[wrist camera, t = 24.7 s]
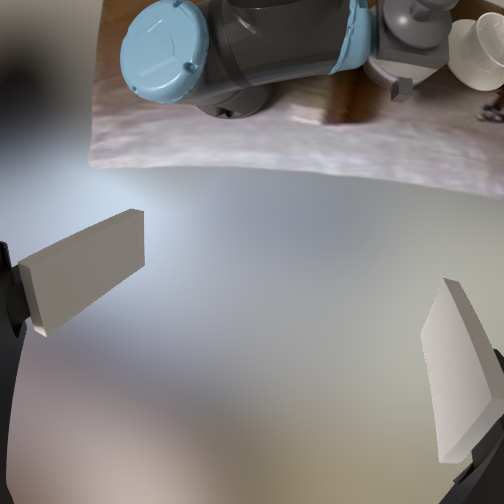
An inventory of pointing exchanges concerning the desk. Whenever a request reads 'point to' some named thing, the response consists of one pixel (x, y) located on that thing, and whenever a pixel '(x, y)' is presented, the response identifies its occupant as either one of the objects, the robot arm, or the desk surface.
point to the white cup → (484, 44)
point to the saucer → (461, 69)
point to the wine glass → (419, 21)
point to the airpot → (399, 59)
